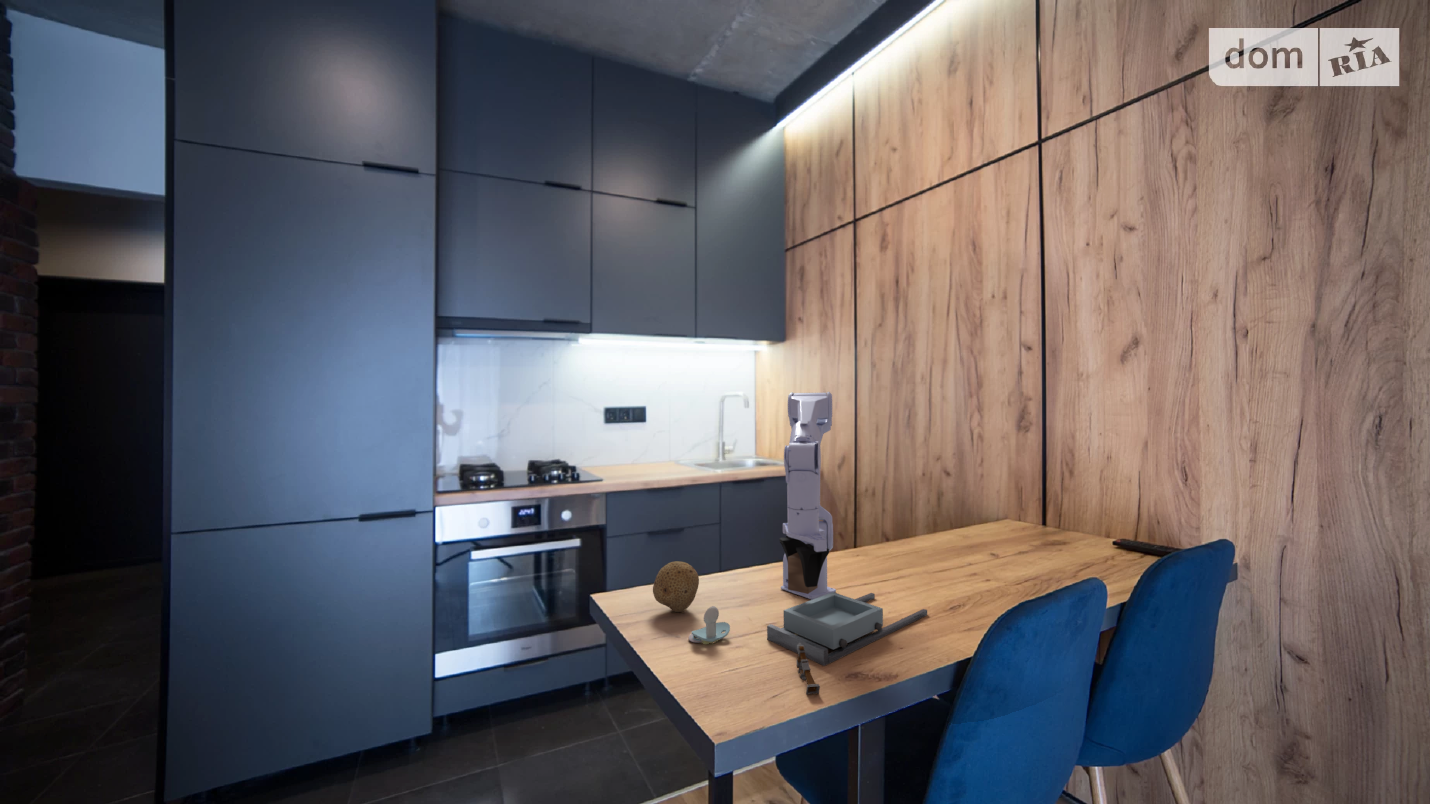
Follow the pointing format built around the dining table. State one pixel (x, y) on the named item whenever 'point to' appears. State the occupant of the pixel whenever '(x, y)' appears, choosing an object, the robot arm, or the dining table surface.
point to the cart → (833, 619)
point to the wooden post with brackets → (806, 671)
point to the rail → (821, 653)
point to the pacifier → (710, 628)
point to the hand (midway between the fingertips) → (803, 580)
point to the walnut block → (797, 575)
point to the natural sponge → (676, 585)
